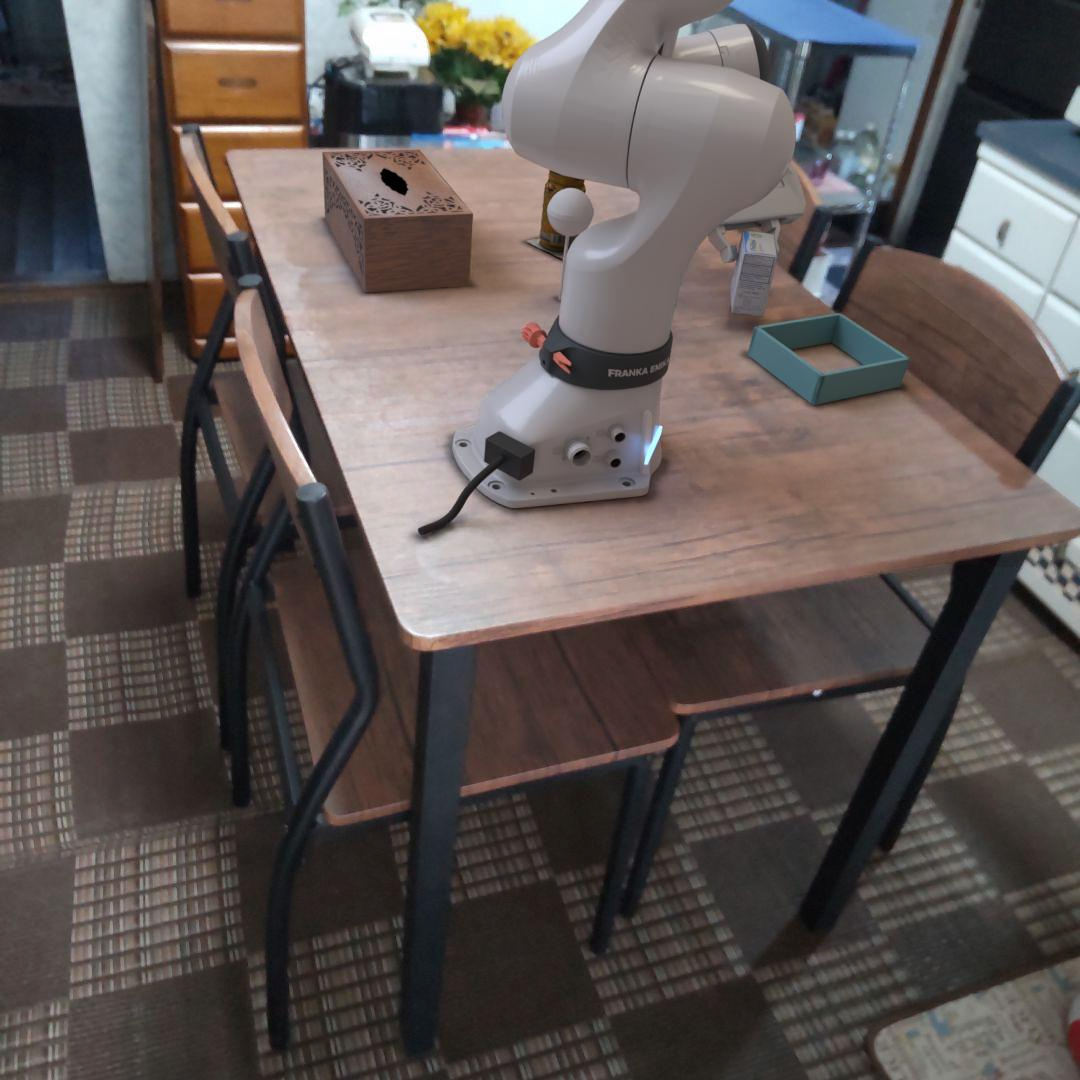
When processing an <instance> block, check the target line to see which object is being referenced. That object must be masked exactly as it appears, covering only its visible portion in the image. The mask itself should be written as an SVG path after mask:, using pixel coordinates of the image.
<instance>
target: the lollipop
mask: <svg viewBox="0 0 1080 1080" xmlns="http://www.w3.org/2000/svg"><path fill="white" fill-rule="evenodd" d="M547 214H548V219H549V222H550V224H551V226H552V227H553V228H554V229H555V230H556V231H557V232H558V233H560V234H562V235H565V236H566V239H565V248H564V256H563V259H562V266H561V273H560V274H561V275H560V283H559V291H558V292H559V293H558V301H561V297H562V289H563V280H564V271H565V263H566V256H567V252H568V243H569V236H575V235H578V234H581V233H582V232H583V231H584V230H586V229H588V228H589V227H590V225H591V224H592V221H593V218H594V215H595V209H594V207H593V203H592V201H591V199H590V197H589V196H588V195H587V194H586V192H585V193H584V192H582V191H580V190H578V189H575V188H566V189H563V190H561V191H559V192H557V193H556V194H555V195H554V196H553V197H552V199H551V200H550V202H549V204H548V208H547Z"/></svg>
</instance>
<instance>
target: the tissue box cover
mask: <svg viewBox="0 0 1080 1080" xmlns="http://www.w3.org/2000/svg"><path fill="white" fill-rule="evenodd" d="M321 153H322V154H321V155H322V178H323V202H324V203H323V205H324V220H325V222H326V224H327V226H328V228H329V230H330V231H331V233H332V235H333V237H334V239H335V241H336V242H337V244H338V246H339V248H340V250H341V251H342V253H343V255H344V257H345V259H346V261H347V262H348V264H349V266H350V268H351V270H352V272H353V273H354V275H355V277H356V279H357V281H358V282H359V284H360V286H361V288H362V290H363V292H364V293H365V294H370V293H372V294H373V293H382V292H383V293H384V292H386V293H387V292H398V291H415V290H426V289H441V288H454V287H468V286H470V281H471V260H472V243H473V226H474V213H473V212H472V210H471V209H470V207H468V205H466V203H465V202H464V201H463V199H461V197H460V196H459V195H458V194H457V193H456V191H455V190H454V189H453V187H452V186H451V185H450V184H449V183H448V182H447V181H446V179H445V178H444V177H443V175H441V173H440V172H439V171H438V170H437V169H436V167H435V166H434V165H433V164H432V163H431V161H430V160H429V159H428V158H427V157H426V156H425V154H424V153H423V152H422V151H421V150H420V149H387V150H386V149H384V150H383V149H382V150H380V149H379V150H341V151H340V150H338V151H322V152H321Z"/></svg>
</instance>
